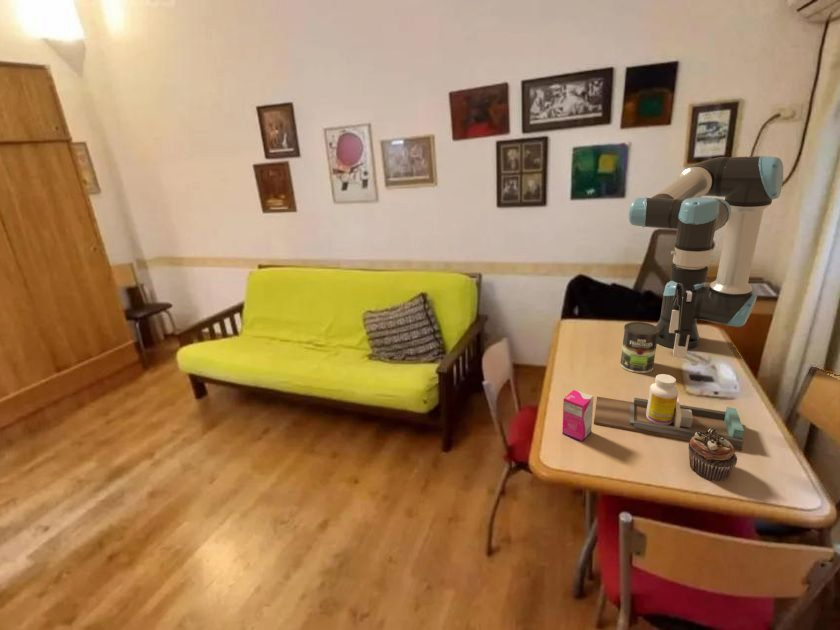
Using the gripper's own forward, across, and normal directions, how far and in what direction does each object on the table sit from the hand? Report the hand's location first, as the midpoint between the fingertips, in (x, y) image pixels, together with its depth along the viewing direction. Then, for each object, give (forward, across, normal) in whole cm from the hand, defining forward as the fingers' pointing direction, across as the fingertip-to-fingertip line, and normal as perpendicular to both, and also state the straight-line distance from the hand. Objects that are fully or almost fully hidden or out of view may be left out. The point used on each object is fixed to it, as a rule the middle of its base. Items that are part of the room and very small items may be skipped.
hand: (676, 344), depth 113 cm
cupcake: (+23, +19, +8) cm, 31 cm away
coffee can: (+24, -28, -7) cm, 37 cm away
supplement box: (+23, +15, -22) cm, 35 cm away
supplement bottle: (+22, +3, -2) cm, 22 cm away
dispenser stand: (+23, +3, 0) cm, 23 cm away
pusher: (+22, +3, +4) cm, 22 cm away
